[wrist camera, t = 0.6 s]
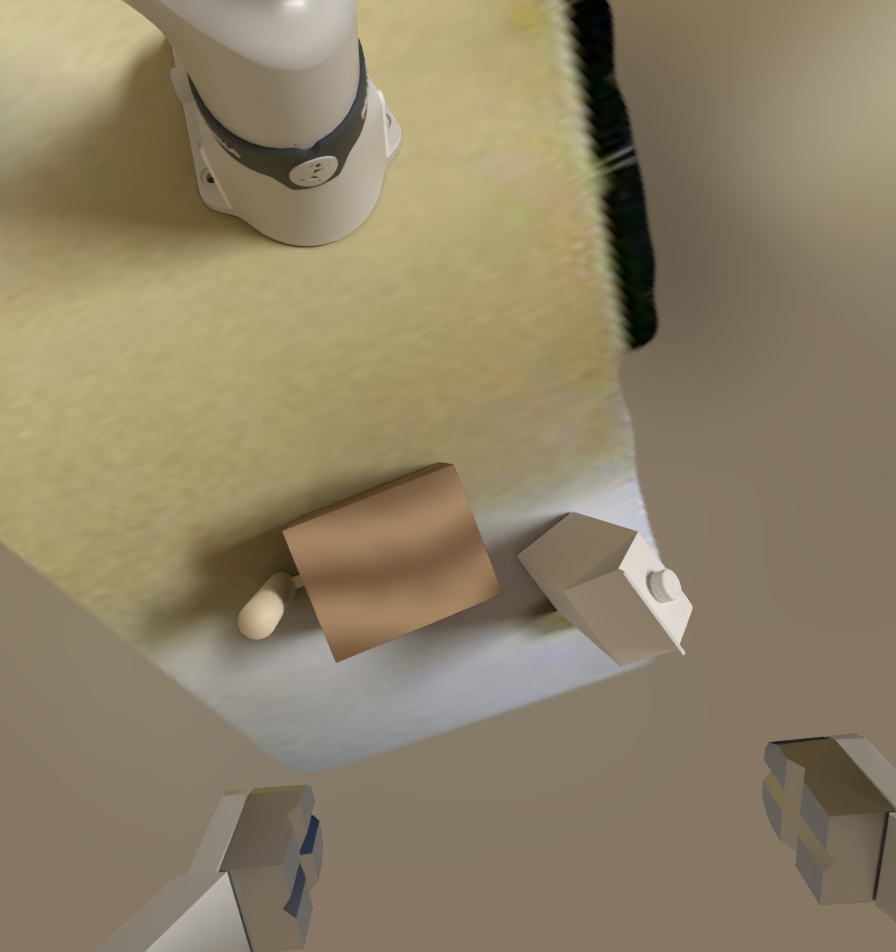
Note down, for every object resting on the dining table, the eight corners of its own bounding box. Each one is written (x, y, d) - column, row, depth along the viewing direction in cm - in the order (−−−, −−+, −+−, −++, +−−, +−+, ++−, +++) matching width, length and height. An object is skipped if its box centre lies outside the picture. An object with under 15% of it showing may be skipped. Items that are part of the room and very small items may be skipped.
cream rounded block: (256, 568, 54) (226, 597, 43) (417, 505, 56) (426, 517, 45) (277, 617, 55) (251, 658, 44) (435, 553, 56) (449, 577, 45)
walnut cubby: (300, 516, 55) (282, 531, 44) (440, 462, 56) (453, 464, 46) (344, 624, 55) (336, 663, 45) (480, 568, 57) (502, 593, 47)
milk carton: (557, 611, 58) (644, 688, 39) (515, 555, 57) (582, 606, 38) (613, 566, 58) (725, 621, 39) (571, 510, 58) (665, 538, 39)
